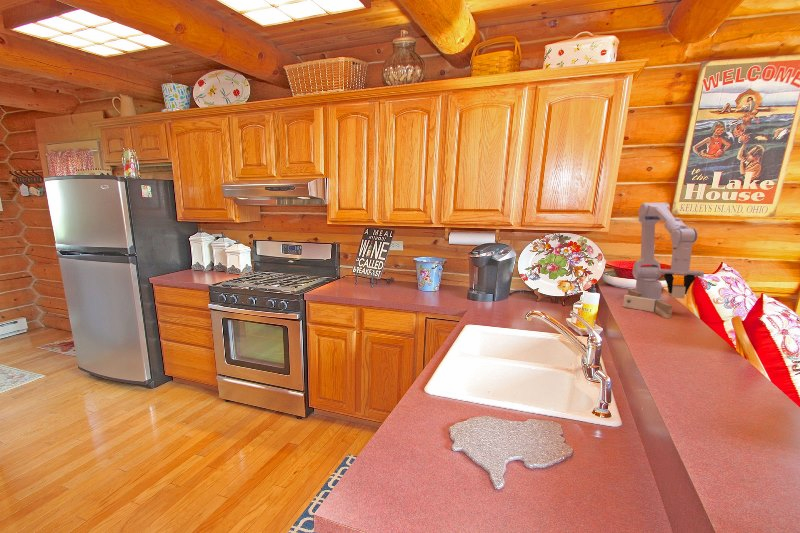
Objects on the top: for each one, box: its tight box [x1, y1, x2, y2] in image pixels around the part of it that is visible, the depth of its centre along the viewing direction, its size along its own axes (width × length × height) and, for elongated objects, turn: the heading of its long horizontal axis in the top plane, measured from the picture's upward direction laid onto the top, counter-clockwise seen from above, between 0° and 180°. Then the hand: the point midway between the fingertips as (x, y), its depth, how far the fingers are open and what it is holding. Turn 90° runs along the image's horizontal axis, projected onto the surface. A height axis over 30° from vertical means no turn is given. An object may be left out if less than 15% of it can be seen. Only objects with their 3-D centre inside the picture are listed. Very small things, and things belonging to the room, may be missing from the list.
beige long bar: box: [627, 289, 673, 319], centre depth 148 cm, size 2×28×5 cm, turn 174°
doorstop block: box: [668, 284, 686, 299], centre depth 139 cm, size 4×4×4 cm
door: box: [622, 294, 659, 313], centre depth 146 cm, size 2×12×5 cm, turn 40°
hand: (677, 293), depth 139 cm, fingers closed on doorstop block, 4 cm apart
